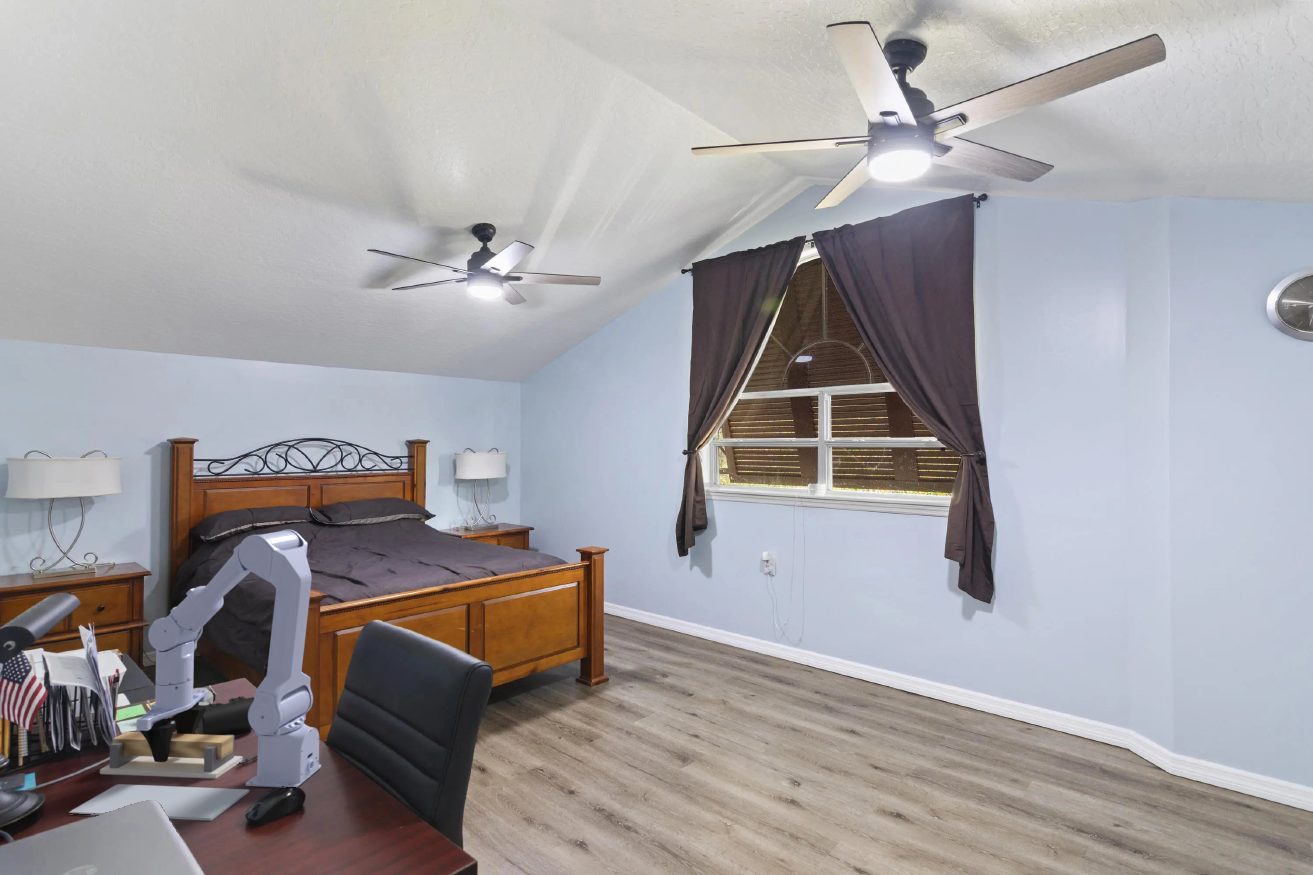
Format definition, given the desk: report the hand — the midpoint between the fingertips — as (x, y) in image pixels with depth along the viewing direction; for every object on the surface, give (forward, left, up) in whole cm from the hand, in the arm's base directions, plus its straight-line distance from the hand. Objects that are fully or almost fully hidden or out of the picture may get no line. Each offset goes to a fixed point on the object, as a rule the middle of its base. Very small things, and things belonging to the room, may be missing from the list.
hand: (173, 753), depth 124 cm
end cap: (0, -14, -3) cm, 14 cm away
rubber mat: (-8, +12, -2) cm, 15 cm away
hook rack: (0, 0, -2) cm, 2 cm away
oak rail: (0, 0, 0) cm, 0 cm away
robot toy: (+14, -22, -3) cm, 26 cm away
